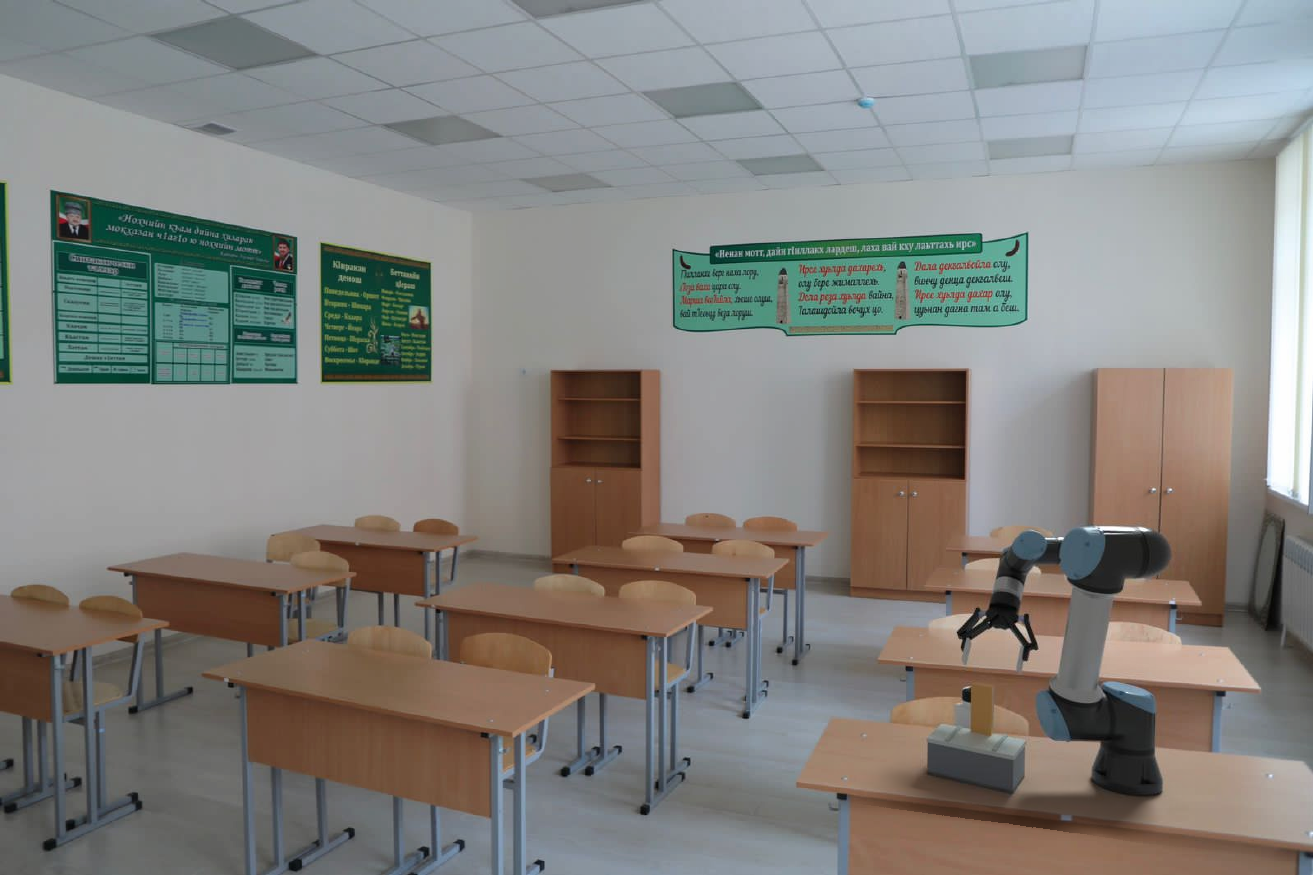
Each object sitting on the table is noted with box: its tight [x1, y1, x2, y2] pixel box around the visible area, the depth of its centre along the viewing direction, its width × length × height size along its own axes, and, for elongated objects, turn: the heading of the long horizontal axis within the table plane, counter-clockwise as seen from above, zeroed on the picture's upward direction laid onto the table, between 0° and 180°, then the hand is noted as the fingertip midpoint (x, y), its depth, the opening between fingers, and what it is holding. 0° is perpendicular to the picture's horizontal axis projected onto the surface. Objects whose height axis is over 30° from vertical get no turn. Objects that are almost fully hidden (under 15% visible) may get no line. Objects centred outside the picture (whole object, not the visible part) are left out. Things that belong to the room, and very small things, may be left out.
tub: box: [926, 742, 1026, 795], centre depth 222 cm, size 20×12×8 cm, turn 56°
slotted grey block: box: [926, 681, 1027, 760], centre depth 222 cm, size 20×12×14 cm, turn 56°
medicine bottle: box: [953, 685, 971, 729], centre depth 253 cm, size 7×7×12 cm
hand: (990, 666), depth 234 cm, fingers open, 13 cm apart
